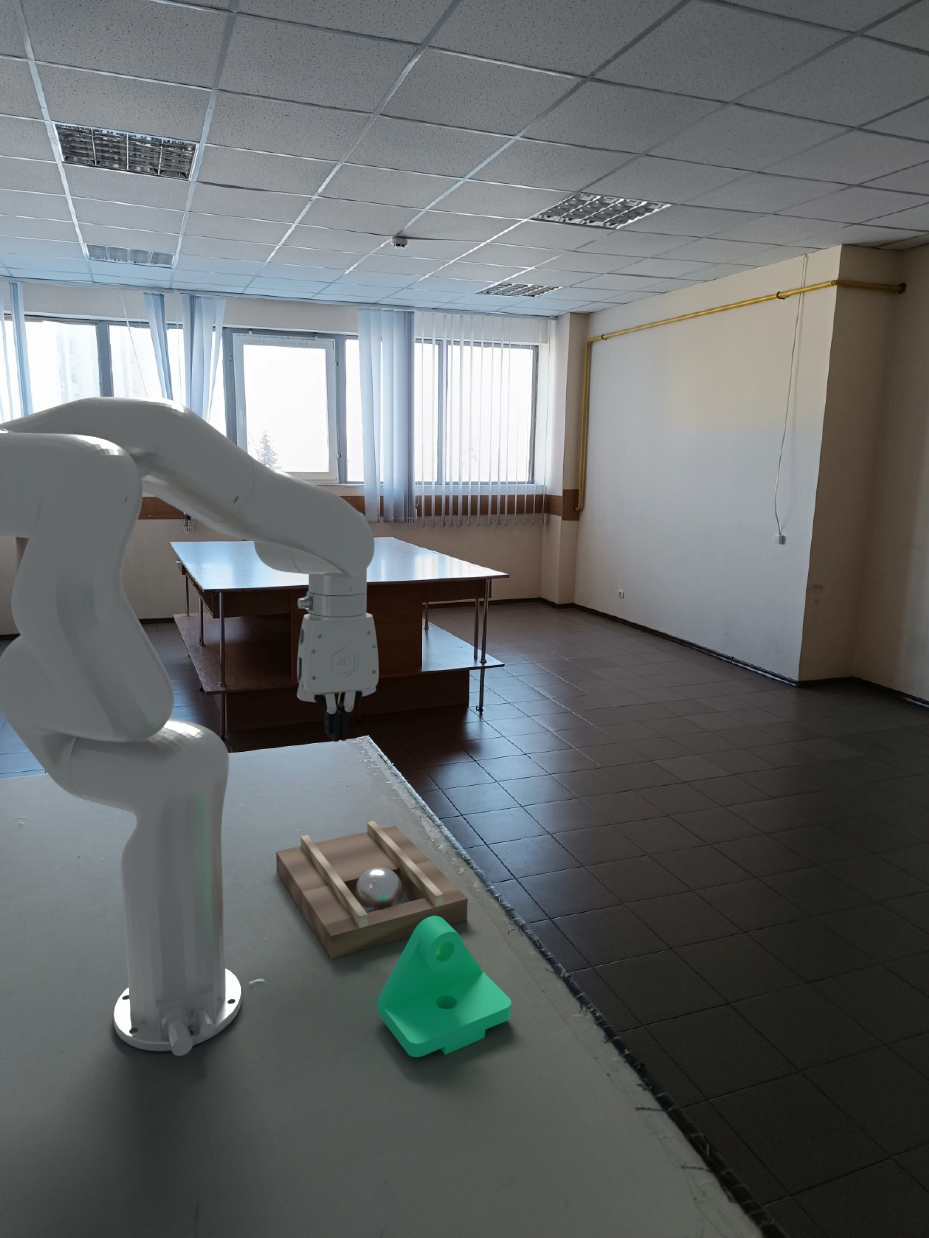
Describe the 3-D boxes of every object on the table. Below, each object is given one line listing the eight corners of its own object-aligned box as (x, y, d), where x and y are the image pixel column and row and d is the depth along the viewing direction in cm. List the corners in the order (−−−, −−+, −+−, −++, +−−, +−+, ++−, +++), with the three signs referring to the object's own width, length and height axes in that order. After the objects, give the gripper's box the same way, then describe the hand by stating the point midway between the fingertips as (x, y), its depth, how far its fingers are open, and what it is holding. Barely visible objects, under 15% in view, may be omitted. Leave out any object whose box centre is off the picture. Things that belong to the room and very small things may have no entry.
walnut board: (466, 919, 102) (468, 887, 101) (331, 959, 94) (331, 924, 93) (395, 844, 121) (395, 816, 120) (276, 871, 112) (276, 841, 111)
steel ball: (360, 854, 103) (377, 867, 107) (339, 901, 100) (358, 911, 105) (400, 870, 100) (416, 882, 105) (380, 918, 98) (397, 928, 102)
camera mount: (412, 1069, 78) (414, 974, 76) (377, 1021, 84) (378, 933, 82) (514, 1026, 84) (518, 937, 82) (474, 984, 90) (477, 901, 88)
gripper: (289, 613, 99) (290, 755, 103) (401, 606, 106) (398, 739, 110) (273, 603, 106) (274, 736, 109) (379, 597, 113) (377, 723, 116)
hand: (336, 737), depth 110 cm, fingers closed
